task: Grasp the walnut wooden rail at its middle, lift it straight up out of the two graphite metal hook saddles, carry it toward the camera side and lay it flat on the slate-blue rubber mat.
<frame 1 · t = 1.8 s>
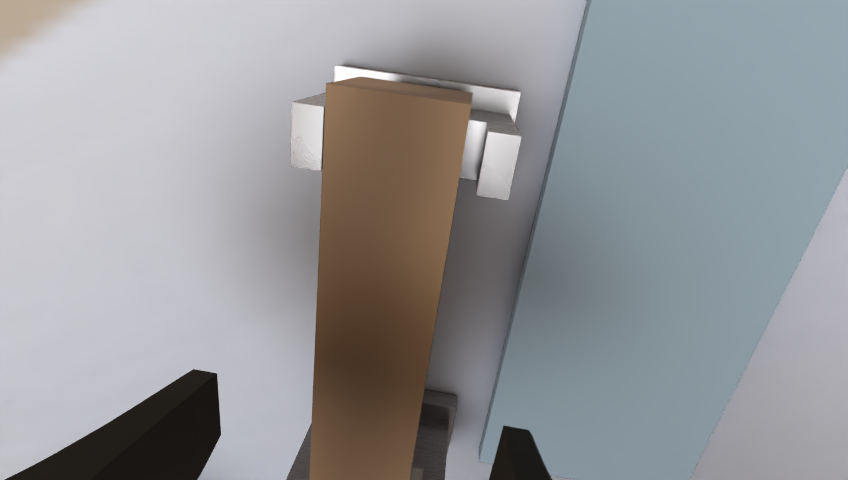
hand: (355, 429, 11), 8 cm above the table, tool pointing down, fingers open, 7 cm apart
rail: (387, 335, 15), point 3 cm above the table, touching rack
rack: (402, 286, 18), on the table
mat: (644, 279, 17), on the table
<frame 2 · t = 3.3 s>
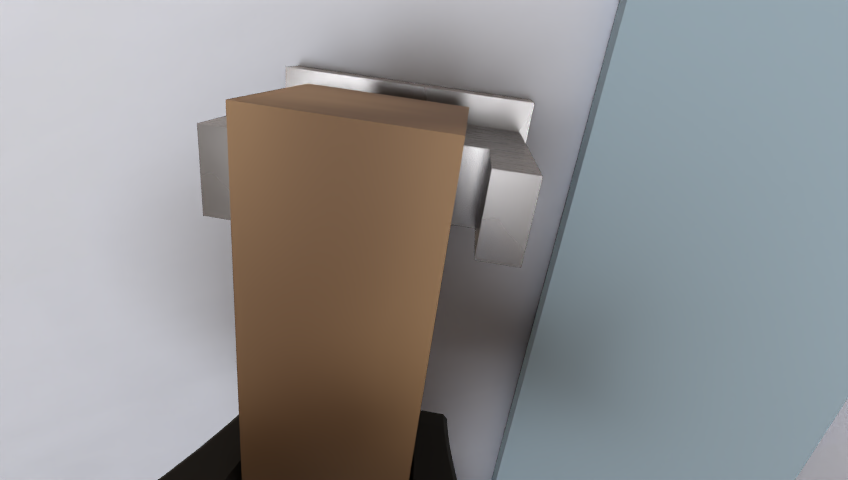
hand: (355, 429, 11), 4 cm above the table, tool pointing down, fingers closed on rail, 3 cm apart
rail: (357, 423, 11), point 3 cm above the table, touching gripper, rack
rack: (383, 341, 15), on the table
mat: (688, 338, 13), on the table
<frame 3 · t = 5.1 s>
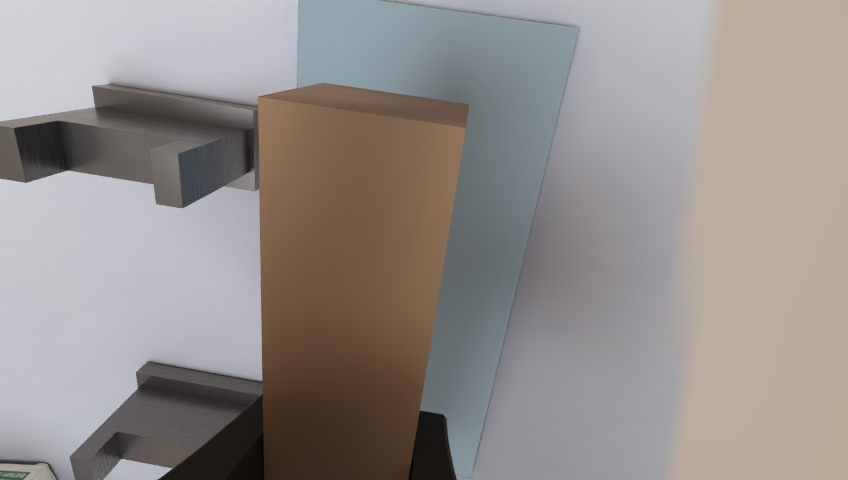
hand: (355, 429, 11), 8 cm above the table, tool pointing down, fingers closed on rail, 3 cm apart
rail: (365, 398, 12), point 7 cm above the table, touching gripper
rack: (199, 282, 20), on the table
mat: (404, 276, 19), on the table
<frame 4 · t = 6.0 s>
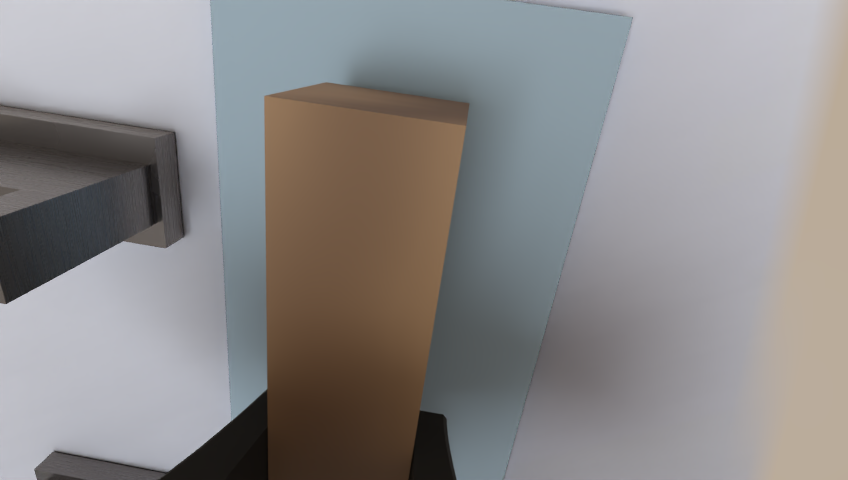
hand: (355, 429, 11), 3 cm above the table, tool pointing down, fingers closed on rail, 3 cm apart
rail: (366, 393, 13), point 2 cm above the table, touching gripper
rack: (109, 359, 15), on the table
mat: (378, 357, 14), on the table
when the fingers open (2 cm above the table, at t = 6.8 s): rail stays where it is, resting on mat.
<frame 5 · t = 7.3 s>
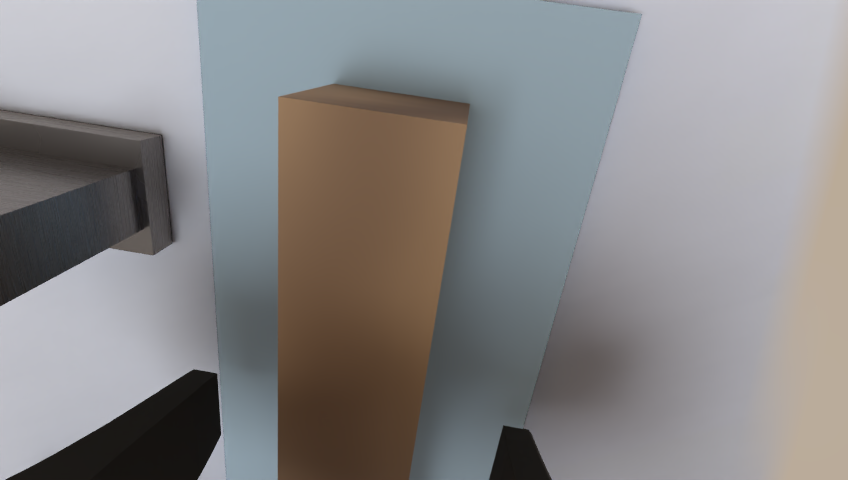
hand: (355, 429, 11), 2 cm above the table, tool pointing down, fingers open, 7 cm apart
rail: (370, 383, 13), point 1 cm above the table, touching mat
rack: (97, 368, 15), on the table
mat: (375, 367, 13), on the table
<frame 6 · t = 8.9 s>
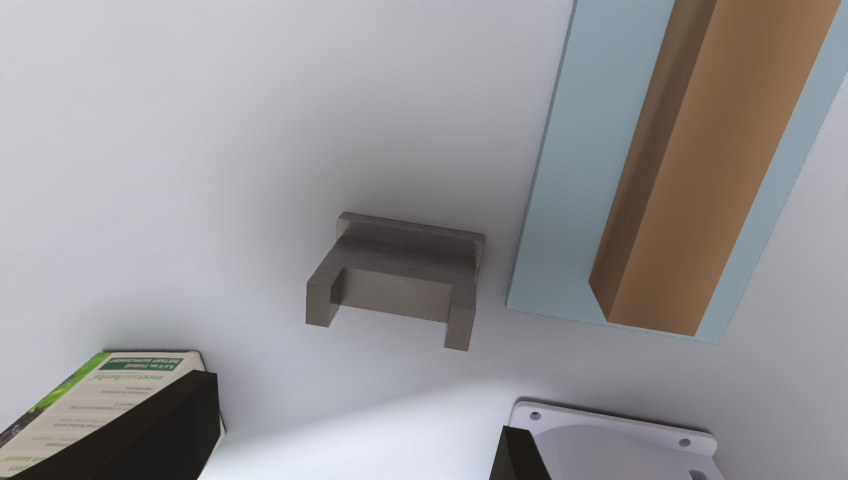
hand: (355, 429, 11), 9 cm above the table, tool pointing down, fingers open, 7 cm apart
rail: (695, 83, 15), point 1 cm above the table, touching mat
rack: (428, 100, 17), on the table
syrup box: (169, 391, 25), on the table
mat: (689, 79, 16), on the table
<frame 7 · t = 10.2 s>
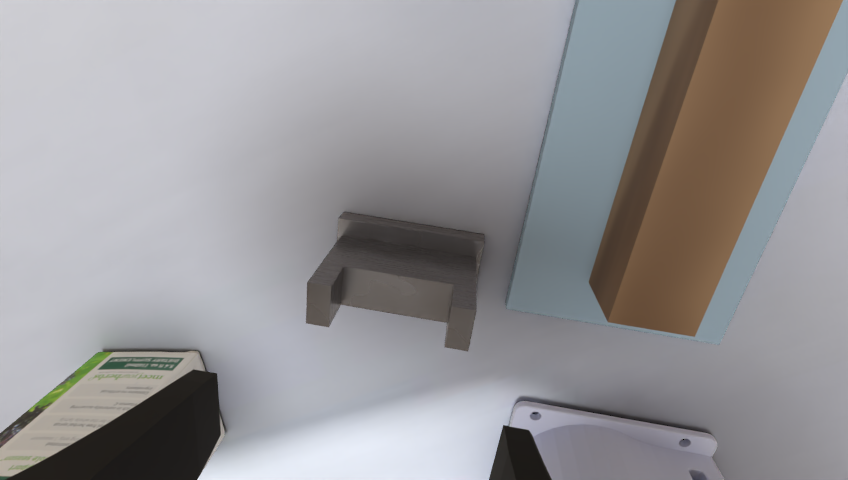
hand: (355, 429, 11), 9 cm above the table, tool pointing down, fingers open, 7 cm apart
rail: (696, 83, 15), point 1 cm above the table, touching mat
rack: (429, 100, 17), on the table
syrup box: (169, 391, 25), on the table
mat: (690, 79, 16), on the table
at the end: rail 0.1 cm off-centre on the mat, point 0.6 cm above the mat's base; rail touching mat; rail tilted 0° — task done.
